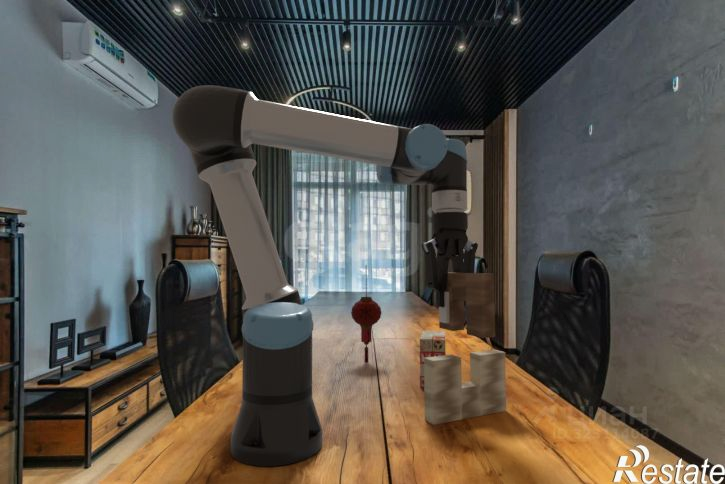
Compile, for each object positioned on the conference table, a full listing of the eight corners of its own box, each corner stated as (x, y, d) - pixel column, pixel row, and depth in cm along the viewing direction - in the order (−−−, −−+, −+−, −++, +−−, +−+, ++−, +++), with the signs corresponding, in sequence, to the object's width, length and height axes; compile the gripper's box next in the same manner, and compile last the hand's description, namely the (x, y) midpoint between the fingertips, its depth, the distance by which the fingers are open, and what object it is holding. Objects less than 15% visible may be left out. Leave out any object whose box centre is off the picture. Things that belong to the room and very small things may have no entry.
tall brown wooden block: (482, 338, 80) (481, 274, 80) (439, 327, 92) (438, 272, 93) (495, 336, 81) (493, 273, 81) (450, 326, 94) (449, 272, 94)
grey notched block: (433, 424, 81) (432, 360, 81) (424, 419, 83) (424, 357, 84) (506, 410, 88) (505, 352, 89) (496, 406, 91) (495, 349, 91)
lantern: (352, 358, 137) (352, 264, 138) (381, 358, 136) (381, 264, 138) (350, 365, 127) (349, 265, 129) (381, 365, 127) (381, 264, 128)
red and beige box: (424, 367, 125) (423, 325, 126) (446, 368, 124) (445, 325, 125) (419, 388, 104) (419, 337, 105) (445, 389, 103) (445, 338, 104)
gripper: (427, 208, 85) (429, 326, 84) (490, 212, 92) (493, 321, 91) (408, 212, 92) (409, 322, 91) (468, 215, 99) (470, 317, 98)
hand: (451, 321), depth 91 cm, fingers closed on tall brown wooden block, 3 cm apart
